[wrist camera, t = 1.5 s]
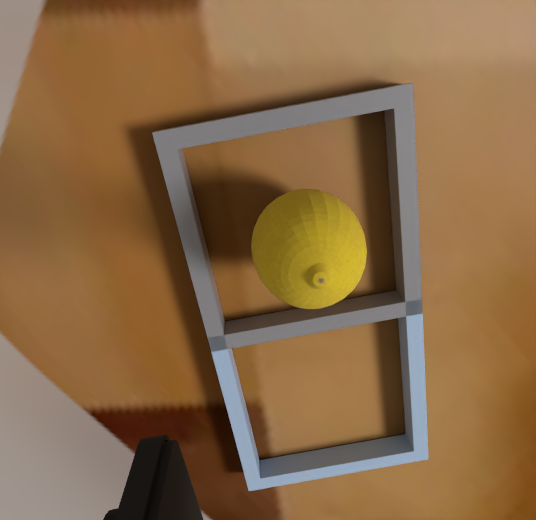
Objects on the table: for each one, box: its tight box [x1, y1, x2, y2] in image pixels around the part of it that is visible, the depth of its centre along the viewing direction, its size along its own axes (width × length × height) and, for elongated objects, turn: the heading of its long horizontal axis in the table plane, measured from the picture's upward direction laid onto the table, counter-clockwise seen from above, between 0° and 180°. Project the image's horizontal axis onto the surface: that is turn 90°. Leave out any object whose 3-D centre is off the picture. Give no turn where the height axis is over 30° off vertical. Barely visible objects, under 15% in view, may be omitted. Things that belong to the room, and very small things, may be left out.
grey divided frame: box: [152, 83, 428, 491], centre depth 26 cm, size 25×13×2 cm, turn 10°
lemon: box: [251, 189, 367, 309], centre depth 21 cm, size 6×6×8 cm
